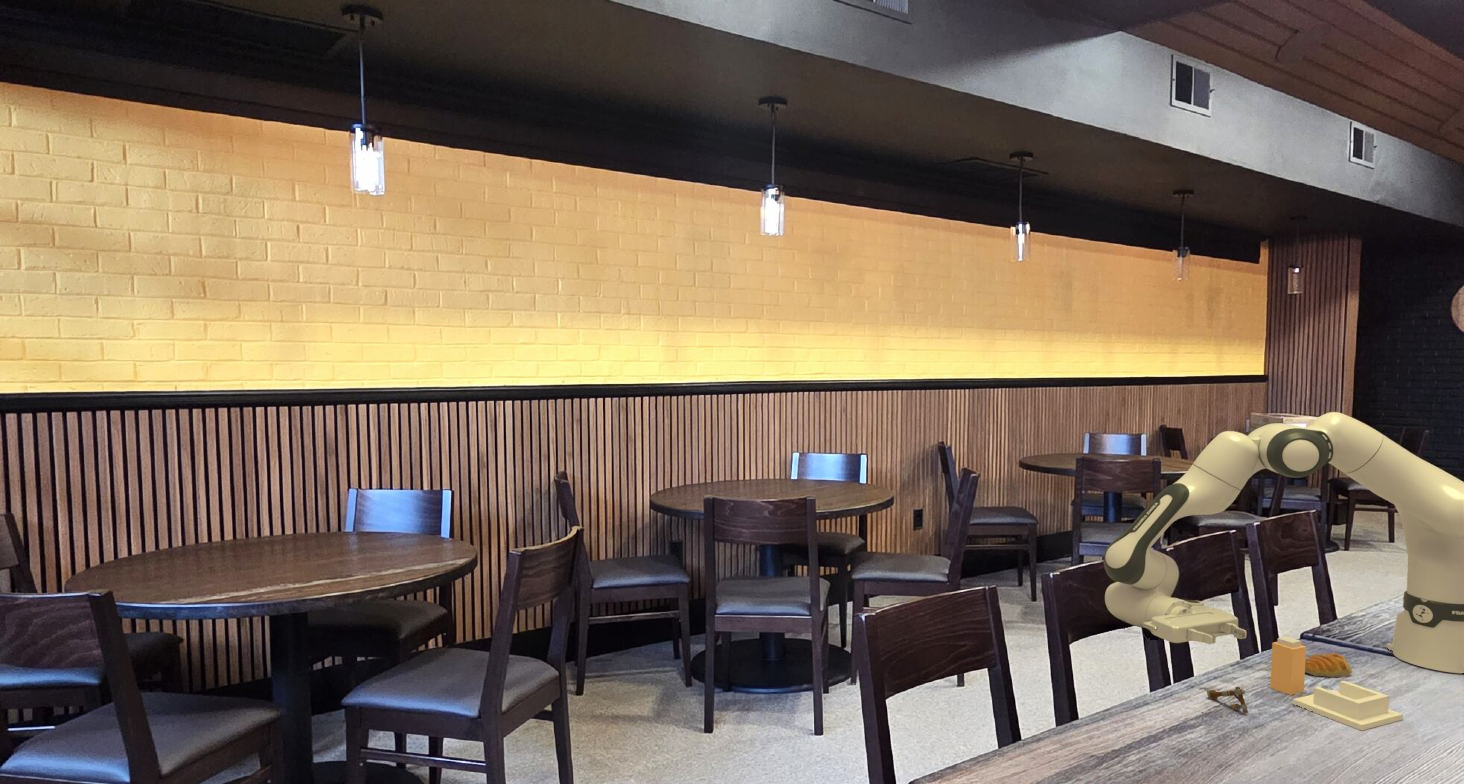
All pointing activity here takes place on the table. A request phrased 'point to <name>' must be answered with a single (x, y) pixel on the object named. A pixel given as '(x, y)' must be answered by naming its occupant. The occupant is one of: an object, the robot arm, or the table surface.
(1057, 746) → the table surface
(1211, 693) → the wooden post with brackets
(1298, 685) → the block
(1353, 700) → the holder
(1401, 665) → the table surface
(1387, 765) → the table surface
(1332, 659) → the pastry
